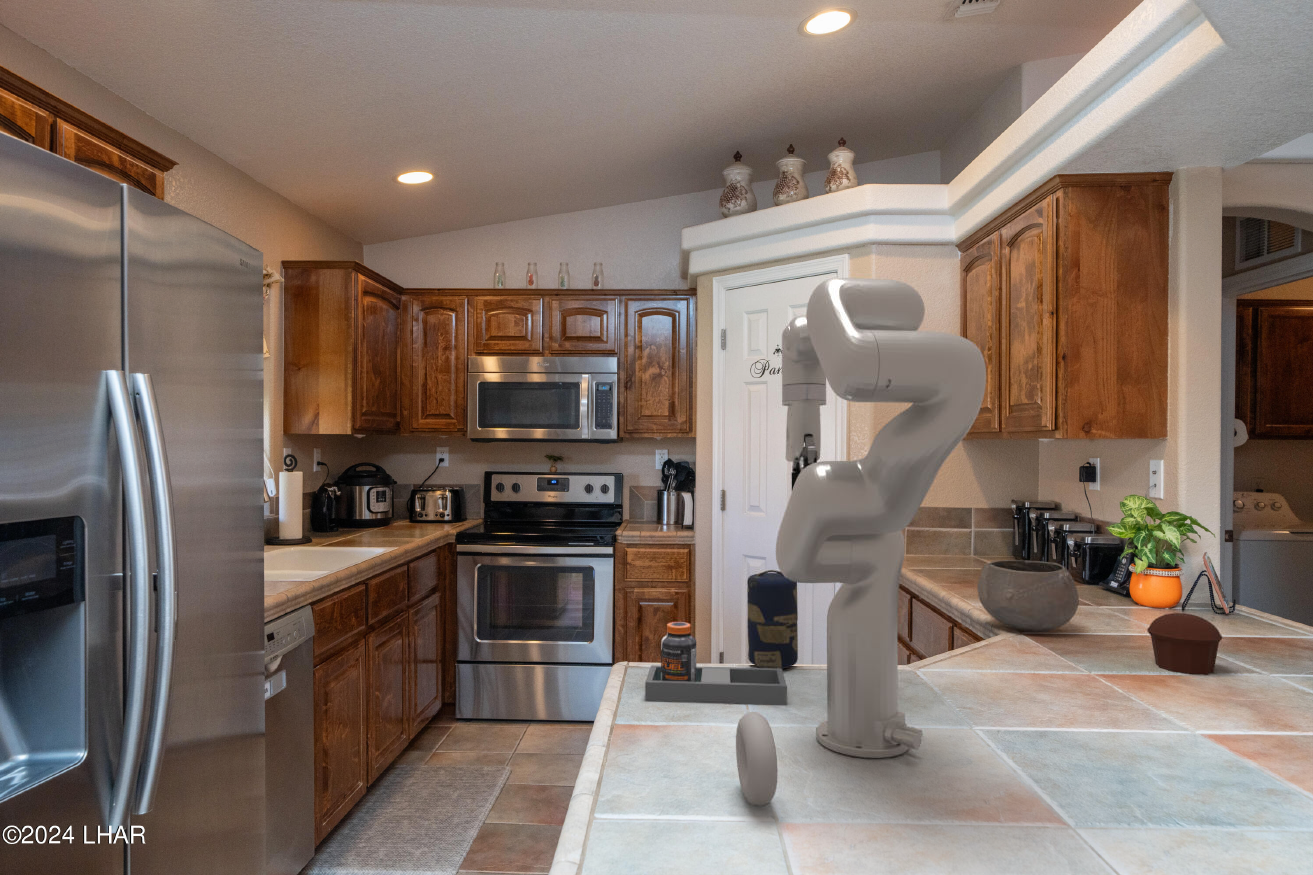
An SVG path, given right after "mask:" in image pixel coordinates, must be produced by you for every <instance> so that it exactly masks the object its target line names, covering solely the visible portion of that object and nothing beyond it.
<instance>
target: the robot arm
mask: <svg viewBox="0 0 1313 875" xmlns="http://www.w3.org/2000/svg"><path fill="white" fill-rule="evenodd" d="M925 312H926V310H925V303H924V300H923V298H922V296H921V294H920V293H919V292H918V290H916V289H915V288H914V287H913V286H911V285H910V284H908V283H905V282H904V281H900V280H894V279H888V278H887V279H885V278H884V279H882V278H855V277H854V278H852V277H832V278H828V279H826V280H823V281H821V282H820V284H818V285H817V286H816V287H815V288H814V290H813V291H812V292H811V295H810V297H809V300H808V302H807V307H806V312H805V314H806V315H798V316H794V317H793V318H792V319H791V320H790V322H789V323H788V325H787V326H786V327H785V328H784V329H783V331H782V334H781V405H782V406H783V407H784V406H785V407H787V411H786V428H785V429H786V431H785V433H786V434H785V435H786V437H785V460H786V461H787V462H788V463H791V462H792V466H791V492H790V496H789V499H788V501H787V505H786V508H785V511H784V514H783V517H782V520H781V523H780V525H779V529H778V532H777V537H776V543H775V560H776V564H777V567H778V569H779V571H780V572H781V573H782V574H783V575H784V576H785V577H786V578H787V579H789V580H791V581H794V582H797V584H800V583H801V584H836V583H837V584H838V583H839V584H841V585H840V587H839V588H838V589H837V592H836V593H835V595H834V596H833V597H832V600H831V601H830V603H829V607H828V609H827V616H826V677H827V678H826V681H827V682H826V690H827V691H826V694H827V695H826V699H827V700H826V701H827V702H826V707H827V710H826V711H827V712H826V714H827V715H826V716H827V717H826V718H827V720H825V721H823V722H821V723H820V724H818V725H817V727H816V730H815V736H816V740H817V742H818V743H820V744H821V745H822V746H823V747H825V748H827V749H829V750H831V751H834V752H836V753H840V754H842V755H847V756H852V757H858V758H868V759H875V758H876V759H880V758H881V759H883V758H891V757H896V756H898V755H899V756H900V755H902V754H904V753H906V752H907V751H908V750H909V749H910V748H911V749H914V750H919V749H920V747H921V745H922V742H923V740H922V737H923V730H922V729H921V728H917V727H913V726H909V725H908V724H907V723H906V713H905V712H902V711H899V693H898V692H899V688H898V687H899V686H898V684H899V680H898V679H899V678H898V676H899V674H898V672H899V670H898V666H899V663H898V661H899V660H898V630H899V629H898V628H899V627H898V625H899V624H898V623H899V622H898V621H899V620H898V619H899V618H898V608H899V607H898V605H899V591H900V590H899V589H900V581H901V576H902V569H903V563H904V560H905V553H906V552H905V551H906V550H905V548H906V547H905V538H904V534H903V531H902V530H904V529H905V528H906V527H907V526H909V525H910V523H911V522H912V521H913V519H914V518H915V516H916V514H917V513H918V510H919V509H920V507H921V505H922V504H923V502H924V499H925V498H926V496H927V494H928V492H929V491H930V489H931V487H932V485H933V483H934V481H935V479H936V477H937V475H938V474H939V471H940V469H941V468H942V466H943V464H945V462H946V460H947V459H948V458H949V456H950V455H951V453H953V452H954V450H955V449H956V448H957V447H958V445H959V444H960V443H961V442H962V441H963V439H964V438H965V436H967V434H968V433H969V431H970V429H971V428H972V426H973V424H974V422H975V421H976V419H977V417H978V415H979V413H980V410H981V408H982V404H983V401H984V400H983V399H984V396H985V391H986V382H987V381H986V380H987V372H986V370H987V368H986V362H985V358H984V356H983V353H982V352H981V351H980V348H979V347H978V346H977V345H976V344H975V343H974V342H973V341H971V340H969V339H967V338H966V337H963V336H961V335H957V334H953V333H947V332H942V331H929V330H919V329H920V327H921V325H922V323H923V322H924V319H925V318H924V317H925ZM827 382H828V384H829V387H830V389H831V390H832V391H833V393H834V394H835V395H836V396H838V397H839V398H841V399H842V400H845V401H848V402H854V403H885V404H887V403H891V404H892V403H895V404H897V403H905V404H908V403H909V404H911V403H912V404H911V405H910V406H909V407H908V408H906V409H904V410H903V411H902V412H900V413H899V414H897V415H895V416H894V417H893V418H891V419H890V420H889V421H888V422H887V423H886V424H885V425H884V426H882V428H881V429H879V431H878V433H877V434H875V436H874V438H873V439H872V443H871V445H870V448H869V450H868V452H867V453H866V455H865V457H864V458H863V457H862V458H860V459H856V460H825V461H819V460H820V458H821V449H822V448H821V447H822V445H821V444H822V442H821V441H822V440H821V433H822V432H821V430H822V428H821V426H822V424H821V406H826V405H827Z"/></svg>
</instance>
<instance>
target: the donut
mask: <svg viewBox="0 0 1313 875" xmlns="http://www.w3.org/2000/svg"><path fill="white" fill-rule="evenodd" d="M735 752H736V753H735V754H736V756H735V757H736V764H737V765H736V767H737V774H738V780H739V784H740V787H741V788H740V789H741V790H742V794H743V795H744V796H745V798H746V800H747V802H749V803H750V804H752V805H754V806H759V807H760V806H765V805H767V804H769V803H771V802H772V800H773V799H774V796H775V794H776V792H777V785H778V759H777V758H778V757H777V748H776V743H775V737H774V734H773V730H772V726H771V725H770V723H769V720H767V718H766V717H765V716H764V715H763V714H761V713H760V712H757V711H749V712H747V713H744V714H743V715H742V716H741V717H740V719H739V720H738V722H737V727H736V733H735Z"/></svg>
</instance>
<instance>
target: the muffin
mask: <svg viewBox="0 0 1313 875" xmlns="http://www.w3.org/2000/svg"><path fill="white" fill-rule="evenodd" d="M1147 633H1148V635H1150V638H1151V644H1152V648H1153V655H1154V656H1153V657H1154V660H1155V665H1157V667H1158V668H1159V669H1162V670H1166V671H1168V672H1171V673H1179V674H1185V675H1188V676H1189V675H1193V676H1195V675H1196V676H1207V675H1210V674H1214V671H1215V667H1216V661H1217V655H1218V650H1219V644H1220V642H1221V641H1222V640H1223V635H1222V634H1221V633H1220V630H1219V629H1218V627H1216V626H1215V625H1214V624H1213V623H1212V622H1210V621H1209V620H1208V619H1204V617H1202V616H1199V615H1195V614H1191V613H1184V612H1171V613H1166V614H1163V615H1161V616H1158V617H1156V618H1155V619H1154V620H1153V621H1151V623H1150V625H1149V626H1148V628H1147Z"/></svg>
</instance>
